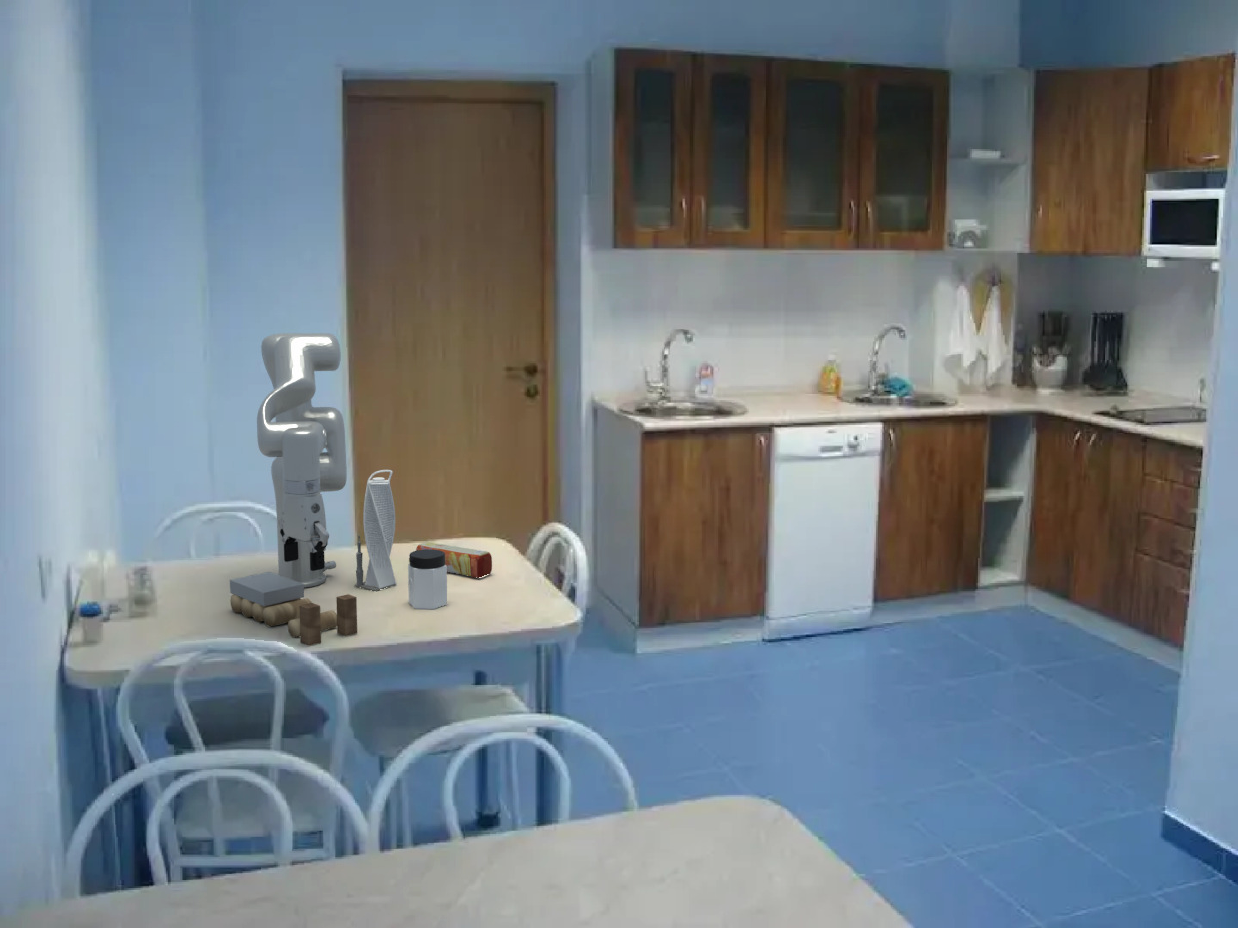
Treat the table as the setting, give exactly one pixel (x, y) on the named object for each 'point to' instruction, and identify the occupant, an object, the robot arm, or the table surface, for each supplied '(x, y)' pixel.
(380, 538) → the skyscraper
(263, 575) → the slab
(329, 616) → the roller
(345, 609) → the posts
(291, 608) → the roller track
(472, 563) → the snack package
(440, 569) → the jar
